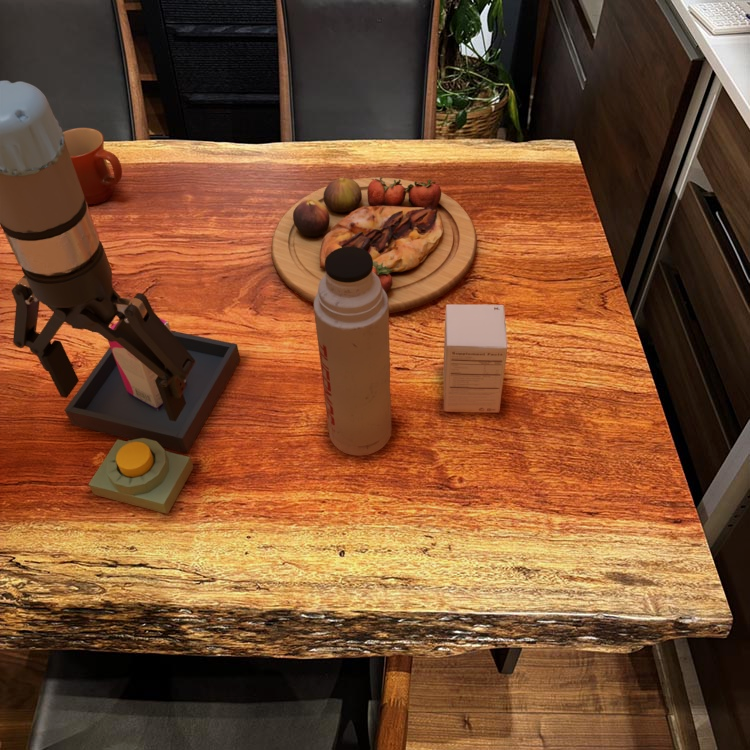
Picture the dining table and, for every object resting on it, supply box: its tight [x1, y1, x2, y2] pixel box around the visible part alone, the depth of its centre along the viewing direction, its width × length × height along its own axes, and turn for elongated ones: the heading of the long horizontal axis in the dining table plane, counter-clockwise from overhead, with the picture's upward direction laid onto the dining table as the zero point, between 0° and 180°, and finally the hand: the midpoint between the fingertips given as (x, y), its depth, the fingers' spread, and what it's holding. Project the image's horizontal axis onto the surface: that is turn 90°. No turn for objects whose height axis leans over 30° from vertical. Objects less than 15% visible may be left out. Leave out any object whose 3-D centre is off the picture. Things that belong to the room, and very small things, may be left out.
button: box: [116, 442, 154, 478], centre depth 94 cm, size 4×4×2 cm
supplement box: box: [107, 317, 187, 411], centre depth 103 cm, size 6×6×12 cm
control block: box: [88, 438, 194, 515], centre depth 96 cm, size 10×7×4 cm
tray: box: [64, 330, 241, 454], centre depth 106 cm, size 17×17×3 cm
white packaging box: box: [442, 303, 509, 414], centre depth 101 cm, size 7×7×13 cm
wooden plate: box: [270, 176, 478, 314], centre depth 123 cm, size 32×32×8 cm
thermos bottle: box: [313, 247, 393, 457], centre depth 91 cm, size 8×8×28 cm
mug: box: [62, 127, 123, 206], centre depth 133 cm, size 12×9×10 cm
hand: (123, 400), depth 90 cm, fingers open, 13 cm apart
